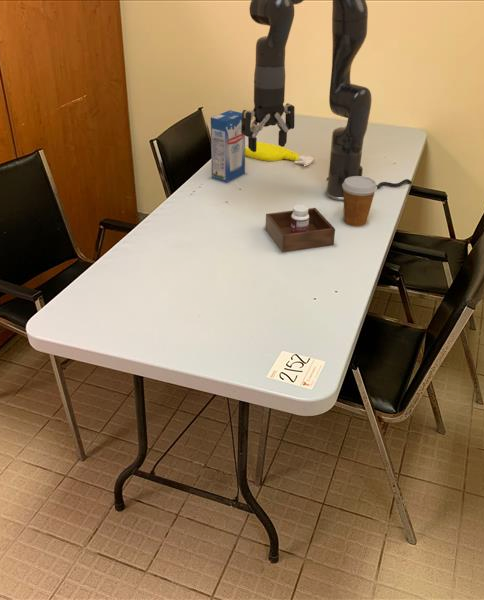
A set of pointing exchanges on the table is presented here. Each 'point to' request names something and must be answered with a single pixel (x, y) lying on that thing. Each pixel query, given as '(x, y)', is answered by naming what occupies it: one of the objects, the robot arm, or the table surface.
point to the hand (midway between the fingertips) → (267, 148)
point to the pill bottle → (299, 219)
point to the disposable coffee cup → (358, 199)
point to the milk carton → (227, 146)
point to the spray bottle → (276, 154)
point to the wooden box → (315, 237)
